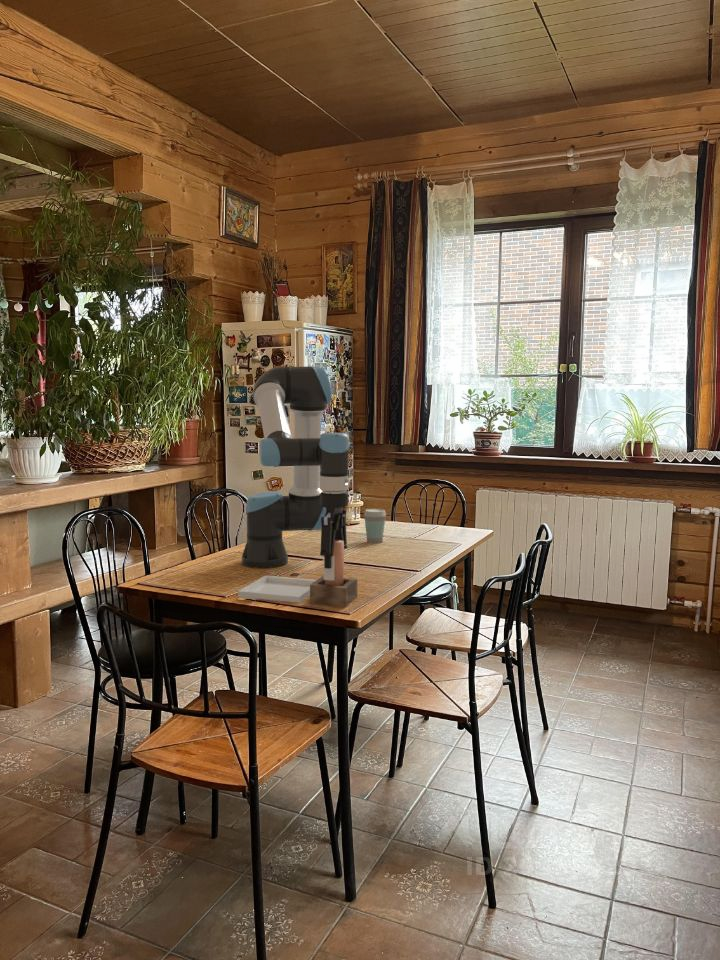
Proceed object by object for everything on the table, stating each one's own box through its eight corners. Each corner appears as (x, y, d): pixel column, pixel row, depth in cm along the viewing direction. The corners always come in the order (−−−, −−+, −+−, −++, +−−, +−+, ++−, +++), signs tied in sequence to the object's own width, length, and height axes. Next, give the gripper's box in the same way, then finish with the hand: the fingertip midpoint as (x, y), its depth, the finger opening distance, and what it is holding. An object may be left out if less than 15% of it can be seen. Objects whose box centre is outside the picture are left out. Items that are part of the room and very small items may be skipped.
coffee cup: (386, 543, 276) (386, 512, 274) (363, 543, 276) (363, 512, 274) (385, 539, 284) (386, 508, 283) (363, 539, 284) (363, 508, 283)
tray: (237, 600, 201) (237, 591, 201) (265, 583, 219) (265, 575, 218) (299, 606, 196) (299, 596, 196) (322, 588, 213) (322, 580, 213)
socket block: (309, 607, 195) (309, 585, 195) (322, 597, 205) (322, 575, 204) (345, 610, 192) (345, 588, 192) (357, 600, 202) (357, 578, 201)
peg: (322, 601, 197) (322, 542, 195) (328, 596, 202) (328, 539, 200) (339, 603, 195) (340, 543, 194) (345, 598, 200) (346, 540, 198)
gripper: (335, 497, 184) (335, 586, 187) (358, 487, 203) (358, 568, 206) (307, 496, 186) (307, 584, 189) (333, 486, 206) (333, 566, 208)
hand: (333, 576), depth 198 cm, fingers open, 7 cm apart
